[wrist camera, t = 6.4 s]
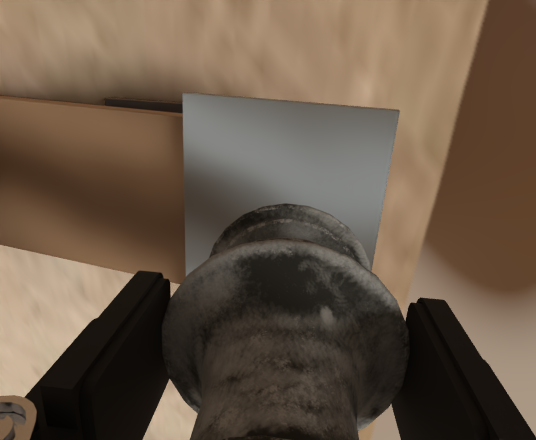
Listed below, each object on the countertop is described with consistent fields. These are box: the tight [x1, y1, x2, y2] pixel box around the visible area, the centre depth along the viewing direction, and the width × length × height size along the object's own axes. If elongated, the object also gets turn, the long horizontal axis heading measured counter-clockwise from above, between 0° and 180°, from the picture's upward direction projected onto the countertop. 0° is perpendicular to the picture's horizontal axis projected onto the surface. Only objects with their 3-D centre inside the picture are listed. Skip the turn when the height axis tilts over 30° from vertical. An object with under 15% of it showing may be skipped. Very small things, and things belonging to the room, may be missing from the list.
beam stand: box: [105, 97, 183, 113], centre depth 22 cm, size 8×22×5 cm, turn 87°
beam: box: [0, 93, 400, 284], centre depth 17 cm, size 10×24×4 cm, turn 86°
